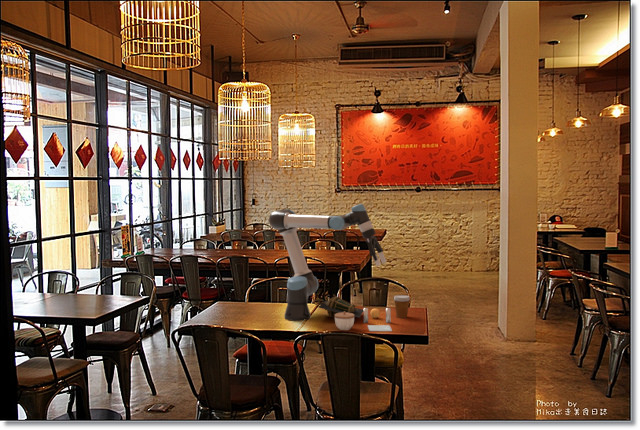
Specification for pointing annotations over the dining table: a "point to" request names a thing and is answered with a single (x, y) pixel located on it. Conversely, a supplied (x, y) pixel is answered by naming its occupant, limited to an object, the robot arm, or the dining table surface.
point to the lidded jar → (344, 320)
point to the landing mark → (379, 328)
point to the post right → (388, 315)
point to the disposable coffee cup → (401, 305)
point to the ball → (374, 313)
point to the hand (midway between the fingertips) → (381, 264)
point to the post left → (365, 315)
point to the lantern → (339, 307)
